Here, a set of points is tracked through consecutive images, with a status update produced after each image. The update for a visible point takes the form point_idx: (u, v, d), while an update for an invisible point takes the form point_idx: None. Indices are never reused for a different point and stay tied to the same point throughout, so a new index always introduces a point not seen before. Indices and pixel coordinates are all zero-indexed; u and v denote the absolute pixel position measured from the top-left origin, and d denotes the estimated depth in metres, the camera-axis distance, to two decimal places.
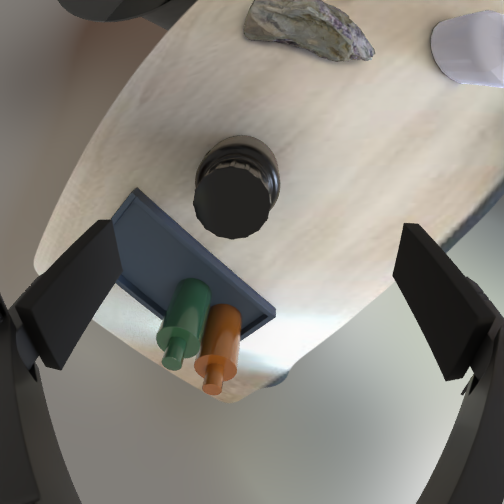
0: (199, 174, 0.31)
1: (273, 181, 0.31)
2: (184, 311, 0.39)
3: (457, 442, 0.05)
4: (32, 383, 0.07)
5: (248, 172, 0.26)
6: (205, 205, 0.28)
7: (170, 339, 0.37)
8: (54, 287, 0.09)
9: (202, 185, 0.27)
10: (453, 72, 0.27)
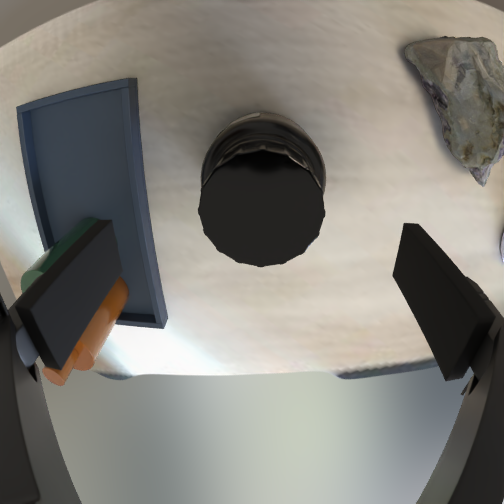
0: (236, 131, 0.20)
1: None
2: None
3: (457, 442, 0.05)
4: (32, 383, 0.07)
5: (320, 194, 0.16)
6: (228, 184, 0.16)
7: None
8: (54, 287, 0.09)
9: (250, 157, 0.15)
10: None
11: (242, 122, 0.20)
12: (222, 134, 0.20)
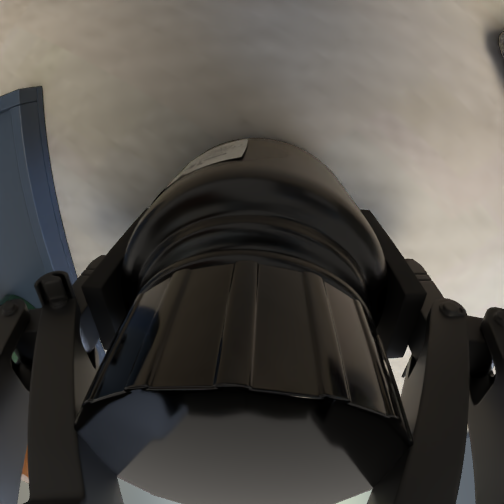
0: (181, 208, 0.08)
1: None
2: None
3: None
4: (91, 370, 0.08)
5: (405, 450, 0.04)
6: (136, 438, 0.04)
7: None
8: (120, 268, 0.10)
9: (189, 404, 0.04)
10: None
11: (198, 180, 0.08)
12: (152, 211, 0.08)
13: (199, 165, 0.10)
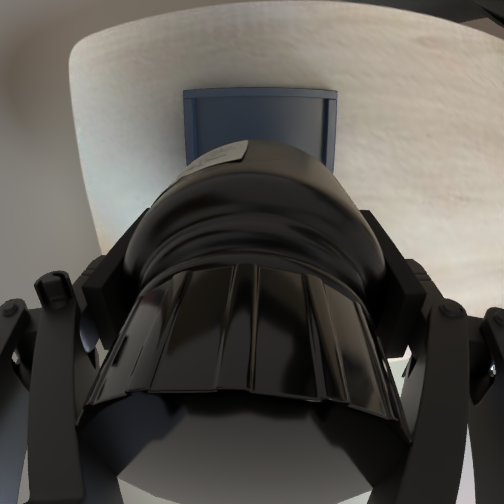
0: (182, 210, 0.08)
1: None
2: None
3: None
4: (91, 370, 0.08)
5: (405, 452, 0.04)
6: (136, 440, 0.04)
7: None
8: (120, 268, 0.10)
9: (190, 406, 0.04)
10: None
11: (198, 182, 0.08)
12: (152, 212, 0.08)
13: (199, 166, 0.10)
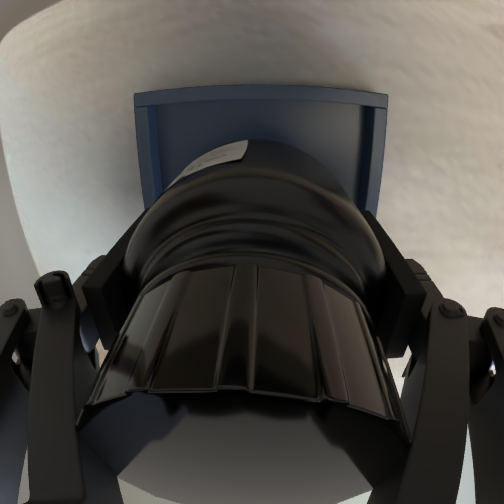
0: (181, 210, 0.08)
1: None
2: None
3: None
4: (91, 370, 0.08)
5: (404, 452, 0.04)
6: (136, 440, 0.04)
7: None
8: (120, 268, 0.10)
9: (189, 406, 0.04)
10: None
11: (198, 182, 0.08)
12: (152, 213, 0.08)
13: (199, 166, 0.10)
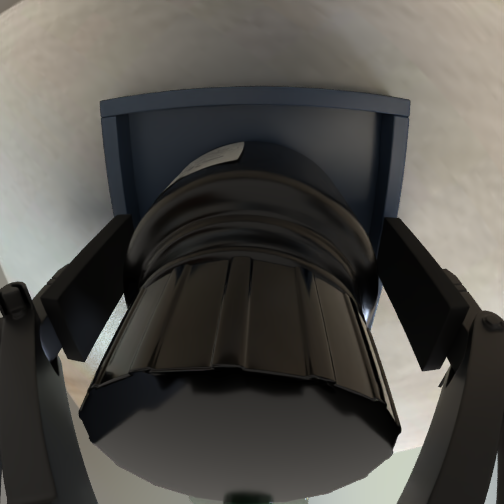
0: (181, 208, 0.08)
1: None
2: None
3: (436, 436, 0.06)
4: (54, 377, 0.07)
5: (394, 436, 0.05)
6: (138, 423, 0.05)
7: None
8: (80, 278, 0.09)
9: (188, 385, 0.04)
10: None
11: (196, 182, 0.09)
12: (153, 211, 0.09)
13: (197, 167, 0.10)
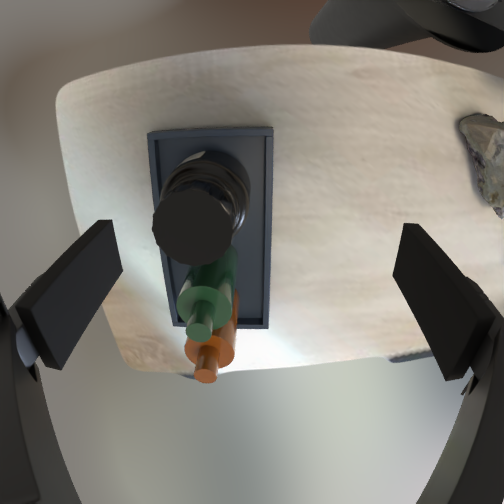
0: (181, 171, 0.28)
1: (235, 228, 0.31)
2: (228, 280, 0.33)
3: (457, 442, 0.05)
4: (32, 383, 0.07)
5: (229, 217, 0.25)
6: (169, 212, 0.25)
7: (203, 302, 0.30)
8: (54, 287, 0.09)
9: (182, 195, 0.24)
10: None
11: (186, 164, 0.28)
12: (172, 173, 0.29)
13: (187, 160, 0.30)
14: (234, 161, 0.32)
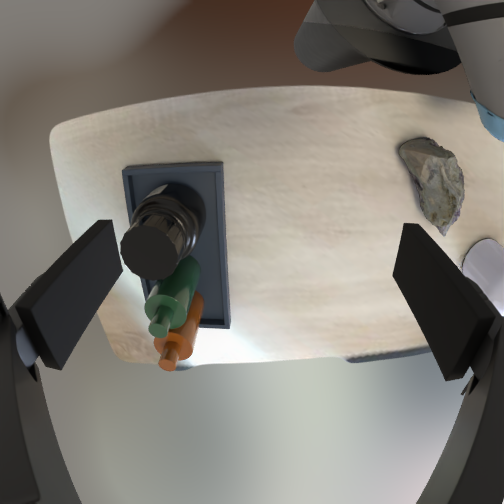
0: (144, 206, 0.36)
1: (187, 250, 0.38)
2: (186, 290, 0.40)
3: (457, 442, 0.05)
4: (32, 383, 0.07)
5: (174, 245, 0.32)
6: (131, 241, 0.32)
7: (163, 306, 0.38)
8: (54, 287, 0.09)
9: (139, 229, 0.32)
10: (469, 274, 0.43)
11: (148, 199, 0.36)
12: (138, 206, 0.36)
13: (150, 195, 0.38)
14: (190, 193, 0.40)
